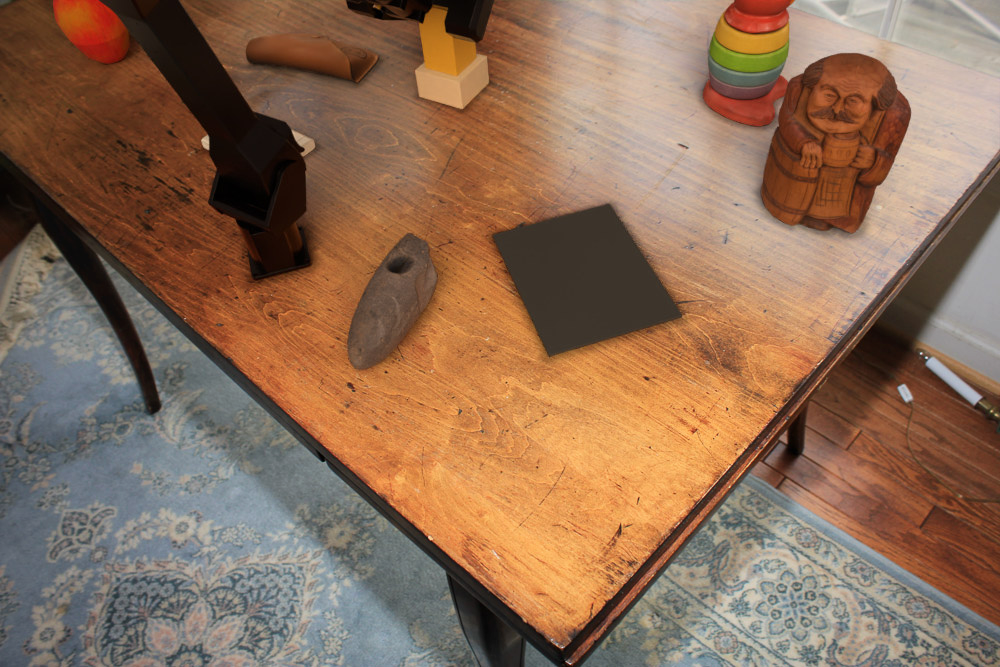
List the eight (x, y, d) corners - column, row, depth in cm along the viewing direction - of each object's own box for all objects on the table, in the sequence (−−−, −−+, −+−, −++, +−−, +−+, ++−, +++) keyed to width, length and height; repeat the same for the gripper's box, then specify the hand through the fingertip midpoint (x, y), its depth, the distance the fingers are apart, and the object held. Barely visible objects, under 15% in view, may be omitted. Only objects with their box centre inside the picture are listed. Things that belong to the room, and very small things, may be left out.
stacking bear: (768, 130, 91) (805, -14, 78) (689, 112, 95) (711, -29, 81) (791, 85, 97) (829, -56, 84) (715, 69, 101) (740, -69, 87)
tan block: (462, 109, 98) (459, 82, 95) (419, 96, 101) (414, 70, 98) (489, 82, 102) (487, 55, 99) (446, 71, 105) (443, 44, 102)
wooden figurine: (749, 217, 82) (788, 68, 68) (760, 182, 85) (799, 34, 72) (863, 242, 78) (928, 90, 64) (869, 204, 82) (933, 53, 68)
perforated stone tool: (381, 391, 70) (366, 345, 64) (334, 374, 71) (316, 328, 66) (453, 283, 78) (445, 234, 73) (409, 270, 80) (399, 221, 74)
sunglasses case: (382, 52, 108) (363, 26, 101) (367, 97, 107) (347, 73, 101) (278, 35, 113) (254, 10, 107) (264, 78, 112) (238, 54, 106)
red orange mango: (68, 69, 111) (24, -10, 102) (109, 39, 116) (70, -39, 107) (116, 79, 109) (75, -1, 99) (156, 48, 114) (120, -31, 105)
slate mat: (681, 317, 73) (682, 315, 73) (548, 357, 71) (548, 354, 71) (609, 205, 84) (609, 203, 84) (492, 237, 82) (492, 234, 82)
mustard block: (457, 76, 96) (448, 1, 89) (425, 68, 98) (413, -7, 90) (476, 57, 99) (470, -18, 91) (445, 49, 101) (436, -25, 93)
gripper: (480, -91, 76) (534, -28, 90) (337, -115, 83) (408, -54, 97) (448, 19, 78) (506, 63, 92) (311, -13, 85) (384, 32, 99)
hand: (450, 23), depth 95 cm, fingers open, 9 cm apart
